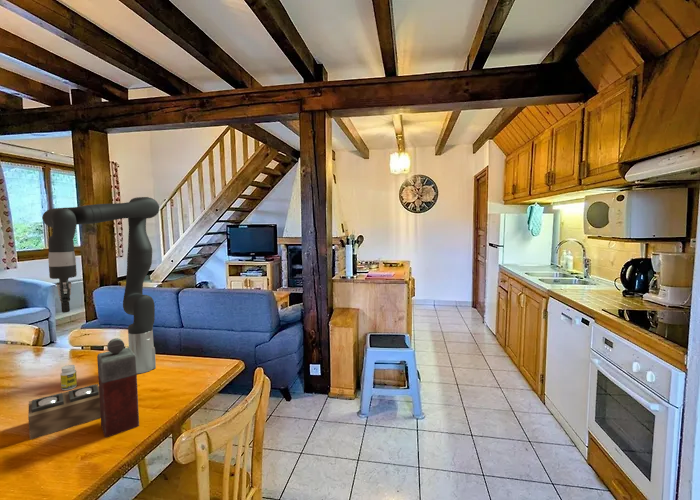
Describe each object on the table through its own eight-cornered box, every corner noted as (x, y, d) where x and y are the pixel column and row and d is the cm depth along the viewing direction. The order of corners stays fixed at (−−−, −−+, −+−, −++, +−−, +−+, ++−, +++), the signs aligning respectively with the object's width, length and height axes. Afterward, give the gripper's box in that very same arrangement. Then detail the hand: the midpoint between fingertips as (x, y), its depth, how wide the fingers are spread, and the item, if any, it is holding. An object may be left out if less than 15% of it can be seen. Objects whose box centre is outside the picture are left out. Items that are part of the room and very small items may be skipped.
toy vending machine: (132, 411, 118) (128, 331, 116) (139, 426, 110) (135, 339, 107) (100, 421, 112) (95, 337, 110) (105, 437, 104) (99, 346, 101)
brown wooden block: (98, 403, 124) (97, 381, 123) (103, 416, 115) (102, 393, 114) (30, 422, 112) (28, 398, 111) (29, 439, 103) (28, 413, 102)
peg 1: (57, 415, 113) (56, 395, 113) (58, 421, 110) (57, 400, 109) (39, 420, 110) (38, 400, 110) (39, 426, 107) (38, 405, 106)
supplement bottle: (68, 391, 132) (66, 369, 132) (58, 390, 133) (56, 368, 133) (80, 385, 137) (78, 364, 136) (70, 384, 138) (69, 363, 137)
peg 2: (92, 405, 119) (90, 386, 119) (93, 411, 116) (92, 391, 115) (75, 410, 116) (74, 391, 116) (76, 415, 113) (75, 395, 112)
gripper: (77, 265, 121) (80, 313, 123) (74, 262, 131) (77, 307, 133) (49, 267, 116) (52, 317, 118) (48, 263, 126) (51, 310, 128)
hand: (65, 311), depth 125 cm, fingers closed
